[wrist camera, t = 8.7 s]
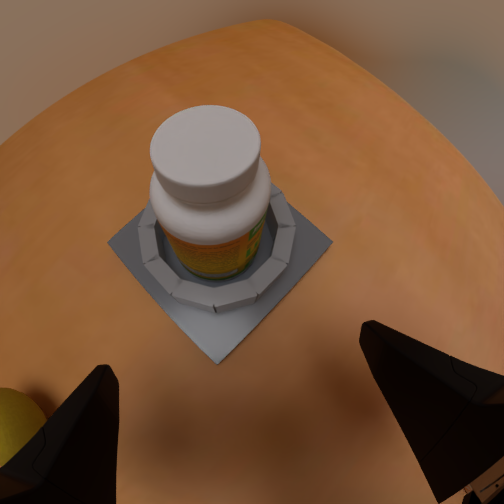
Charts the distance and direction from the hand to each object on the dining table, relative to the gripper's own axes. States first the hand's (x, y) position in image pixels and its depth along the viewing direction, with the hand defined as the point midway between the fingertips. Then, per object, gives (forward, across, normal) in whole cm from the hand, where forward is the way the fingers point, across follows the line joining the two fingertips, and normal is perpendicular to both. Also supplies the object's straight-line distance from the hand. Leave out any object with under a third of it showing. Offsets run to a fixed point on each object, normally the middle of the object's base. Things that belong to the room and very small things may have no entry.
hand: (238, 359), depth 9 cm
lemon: (+3, +16, +9) cm, 18 cm away
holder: (+11, 0, 0) cm, 11 cm away
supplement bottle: (+11, 0, 0) cm, 11 cm away
